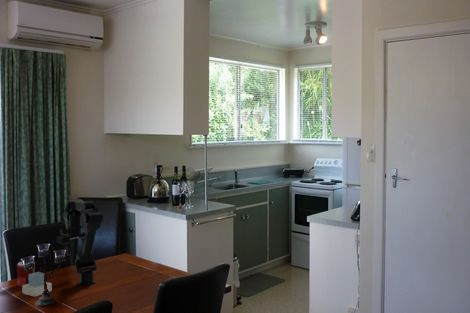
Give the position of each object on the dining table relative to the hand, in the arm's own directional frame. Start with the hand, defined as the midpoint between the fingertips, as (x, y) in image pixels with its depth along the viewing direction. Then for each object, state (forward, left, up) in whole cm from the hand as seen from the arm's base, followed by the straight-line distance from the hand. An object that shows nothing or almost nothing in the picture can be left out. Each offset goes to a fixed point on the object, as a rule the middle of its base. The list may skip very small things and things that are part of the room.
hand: (75, 253), depth 238 cm
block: (-6, +25, -8) cm, 27 cm away
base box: (-6, +25, -12) cm, 29 cm away
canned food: (+8, +22, -12) cm, 27 cm away
